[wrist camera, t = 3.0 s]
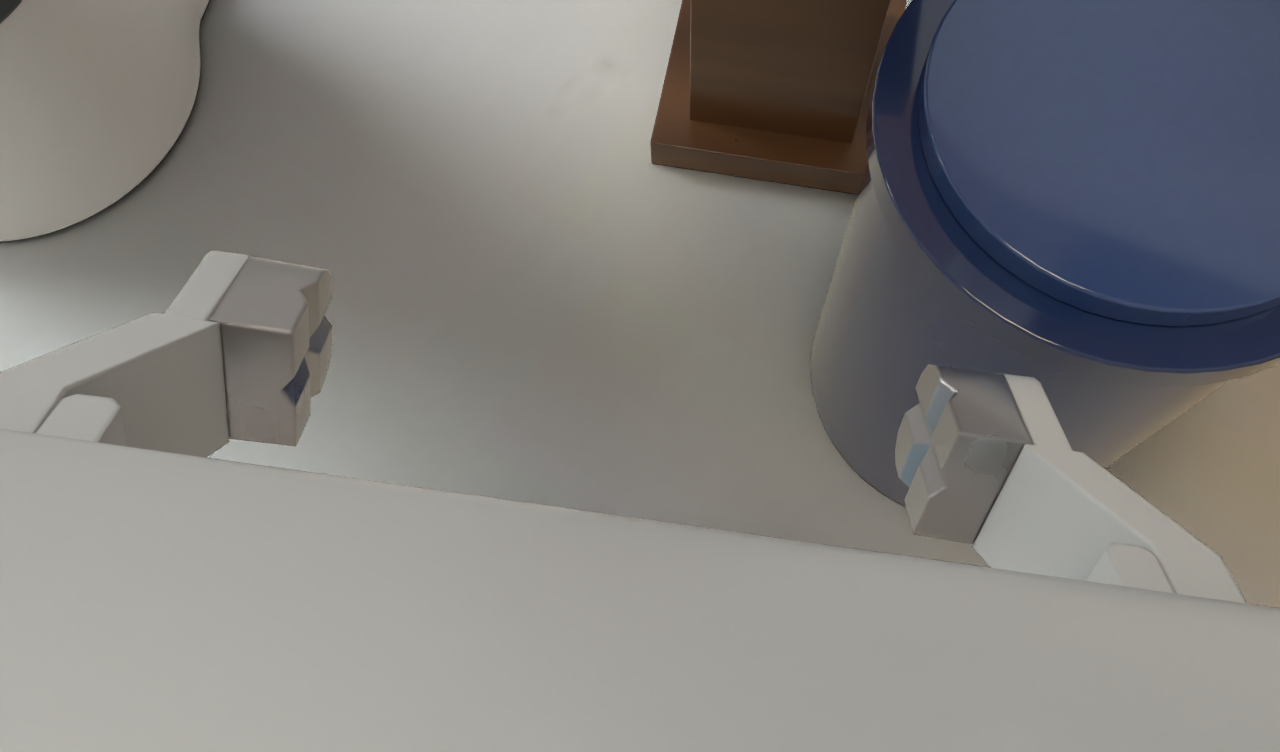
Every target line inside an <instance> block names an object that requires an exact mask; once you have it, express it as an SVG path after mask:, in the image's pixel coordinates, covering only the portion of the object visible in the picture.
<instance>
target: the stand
mask: <svg viewBox="0 0 1280 752" xmlns="http://www.w3.org/2000/svg"><path fill="white" fill-rule="evenodd" d="M905 5H906V0H682V5H681V9H680V14H679V18H678V23H677V27H676V32H675V36H674V40H673V45H672V49H671V54H670V58H669V63H668V67H667V72H666V76H665V80H664V85H663V89H662V94H661V98H660V103H659V107H658V112H657V116H656V120H655V125H654V129H653V134H652V138H651V162H652V163H654V164H661V165H668V166H674V167H681V168H687V169H694V170H701V171H707V172H714V173H720V174H727V175H734V176H740V177H747V178H753V179H760V180H766V181H773V182H780V183H786V184H793V185H799V186H806V187H813V188H819V189H826V190H832V191H839V192H846V193H852V194H858V191H859V188H860V185H861V181H862V178H863V175H864V171H865V168H866V165H867V162H868V157H867V151H866V121H867V114H868V107H869V101H870V94H871V91H872V87H873V84H874V80H875V76H876V73H877V70H878V66H879V63H880V60H881V57H882V54H883V51H884V48H885V45H886V43H887V41H888V39H889V37H890V35H891V33H892V31H893V29H894V27H895V25H896V23H897V21H898V20H899V18H900V17H901V16H902V14H903V13H904V11H905Z"/></svg>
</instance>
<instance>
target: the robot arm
mask: <svg viewBox="0 0 1280 752" xmlns="http://www.w3.org/2000/svg"><path fill="white" fill-rule="evenodd" d="M208 2H209V0H0V242H1V241H12V240H20V239H25V238H31V237H35V236H40V235H44V234H47V233H51V232H54V231H57V230H60V229H63V228H66V227H68V226H71V225H73V224H75V223H78V222H80V221H82V220H84V219H86V218H88V217H90V216H92V215H94V214H96V213H98V212H100V211H101V210H103V209H105V208H107V207H108V206H110V205H111V204H113V203H114V202H116V201H117V200H119V199H120V198H121V197H123V196H124V195H126V194H127V193H128V192H129V191H131V190H132V189H133V188H134V187H136V186H137V185H138V184H139V183H140V182H141V181H142V180H143V179H144V178H146V177H147V176H148V175H149V174H150V173H151V172H152V171H153V169H154V168H155V167H156V166H157V165H158V164H159V163H160V162H161V160H162V159H163V158H164V157H165V156H166V154H167V153H168V152H169V150H170V149H171V148H172V146H173V145H174V143H175V141H176V140H177V138H178V137H179V135H180V133H181V132H182V130H183V128H184V126H185V124H186V122H187V120H188V117H189V115H190V113H191V110H192V107H193V105H194V102H195V98H196V94H197V90H198V85H199V79H200V63H201V60H200V44H199V27H200V20H201V18H202V16H203V14H204V11H205V9H206V7H207V5H208ZM331 299H332V283H331V275H330V272H329V270H328V269H323V268H317V267H312V266H306V265H300V264H295V263H289V262H283V261H278V260H272V259H266V258H260V257H255V256H254V257H251V256H250V255H244V254H237V253H230V252H224V251H217V250H214V251H211V252H209V253H207V254H206V256H205V257H204V258H203V260H202V261H201V263H200V264H199V265H198V267H197V268H196V270H195V271H194V273H193V274H192V275H191V277H190V278H189V280H188V281H187V282H186V284H185V285H184V287H183V288H182V290H181V291H180V292H179V294H178V295H177V297H176V298H175V299H174V301H173V302H172V304H171V305H170V307H169V308H168V309H167V311H166V312H165V314H160V313H150V314H148V315H145V316H143V317H140V318H138V319H135V320H132V321H130V322H127V323H125V324H122V325H120V326H117V327H114V328H112V329H109V330H107V331H104V332H102V333H99V334H97V335H94V336H91V337H89V338H86V339H84V340H81V341H79V342H76V343H73V344H71V345H68V346H66V347H63V348H61V349H58V350H55V351H53V352H50V353H48V354H45V355H43V356H40V357H38V358H35V359H32V360H30V361H27V362H25V363H22V364H20V365H17V366H14V367H12V368H9V369H7V370H4V371H2V372H0V752H1280V608H1274V607H1267V606H1260V605H1253V604H1248V603H1247V601H1246V600H1245V598H1244V596H1243V594H1242V593H1241V591H1240V589H1239V587H1238V586H1237V584H1236V582H1235V580H1234V578H1233V577H1232V575H1231V573H1230V571H1229V570H1228V568H1227V566H1226V564H1225V563H1224V561H1223V559H1222V557H1221V556H1220V555H1219V554H1217V553H1216V552H1215V551H1213V550H1212V549H1211V548H1209V547H1208V546H1207V545H1205V544H1204V543H1203V542H1201V541H1200V540H1199V539H1197V538H1196V537H1195V536H1193V535H1192V534H1191V533H1189V532H1188V531H1187V530H1185V529H1184V528H1183V527H1181V526H1180V525H1179V524H1177V523H1176V522H1175V521H1173V520H1172V519H1171V518H1169V517H1168V516H1167V515H1165V514H1164V513H1163V512H1161V511H1160V510H1159V509H1157V508H1156V507H1155V506H1153V505H1152V504H1151V503H1149V502H1148V501H1147V500H1145V499H1144V498H1143V497H1141V496H1140V495H1139V494H1137V493H1136V492H1135V491H1133V490H1132V489H1131V488H1130V487H1128V486H1127V485H1126V484H1124V483H1123V482H1122V481H1120V480H1119V479H1118V478H1116V477H1115V476H1114V475H1112V474H1111V473H1110V472H1108V471H1107V470H1106V469H1104V468H1103V467H1102V466H1100V465H1099V464H1098V463H1096V462H1095V461H1094V460H1092V459H1091V458H1090V457H1088V456H1087V455H1086V454H1084V453H1082V452H1076V451H1073V450H1072V448H1071V446H1070V444H1069V442H1068V440H1067V438H1066V436H1065V433H1064V431H1063V429H1062V427H1061V425H1060V423H1059V421H1058V419H1057V417H1056V415H1055V412H1054V410H1053V408H1052V406H1051V404H1050V402H1049V400H1048V398H1047V396H1046V393H1045V391H1044V389H1043V387H1042V385H1041V383H1040V382H1039V381H1038V380H1037V379H1035V378H1034V377H1026V376H1018V375H1010V374H1001V373H999V374H998V373H990V372H983V371H975V370H968V369H960V368H953V367H945V366H938V365H931V364H928V365H927V367H926V368H925V369H924V371H923V372H922V373H921V376H920V378H919V380H918V383H917V385H916V387H915V388H916V391H917V395H918V398H919V402H920V403H919V404H917V405H916V406H914V407H913V408H911V409H910V410H908V411H907V412H905V414H904V417H903V420H902V422H901V425H900V428H899V430H898V434H897V441H896V447H895V464H896V469H897V473H898V477H899V478H900V479H901V480H902V481H903V482H904V483H905V484H906V485H907V486H908V487H909V490H908V493H907V495H906V497H905V500H904V501H905V505H906V508H907V512H908V516H909V520H910V524H911V527H912V531H913V534H915V535H921V536H927V537H933V538H939V539H944V540H950V541H956V542H962V543H968V544H973V546H972V547H973V548H974V549H975V550H976V552H977V553H978V554H979V555H980V556H981V557H982V558H983V560H984V561H985V562H986V563H987V564H988V565H989V566H990V567H983V566H976V565H969V564H962V563H955V562H947V561H940V560H933V559H926V558H919V557H912V556H905V555H897V554H890V553H883V552H876V551H869V550H862V549H855V548H847V547H840V546H833V545H826V544H819V543H812V542H805V541H797V540H790V539H783V538H776V537H769V536H762V535H755V534H747V533H740V532H733V531H726V530H719V529H712V528H705V527H697V526H690V525H683V524H676V523H669V522H662V521H655V520H647V519H640V518H633V517H626V516H619V515H612V514H605V513H598V512H590V511H583V510H576V509H569V508H562V507H555V506H548V505H541V504H533V503H526V502H519V501H512V500H505V499H498V498H491V497H483V496H476V495H469V494H462V493H455V492H448V491H441V490H434V489H426V488H419V487H412V486H405V485H398V484H391V483H384V482H376V481H369V480H362V479H355V478H348V477H341V476H334V475H327V474H319V473H312V472H305V471H298V470H291V469H284V468H277V467H269V466H262V465H255V464H248V463H241V462H234V461H227V460H220V459H212V458H206V457H208V456H209V455H211V454H212V453H214V452H215V451H217V450H218V449H220V448H221V447H222V446H224V445H225V444H227V443H228V442H229V439H236V440H245V441H253V442H262V443H270V444H279V445H288V446H296V445H297V443H298V441H299V439H300V436H301V434H302V432H303V430H304V427H305V425H306V423H307V421H308V419H309V416H310V398H311V397H313V396H315V395H317V394H318V393H320V391H321V389H322V386H323V384H324V381H325V379H326V375H327V370H328V366H329V362H330V357H331V346H332V325H331V324H330V322H329V321H328V320H327V318H326V317H325V316H324V314H325V312H326V310H327V308H328V305H329V303H330V301H331Z"/></svg>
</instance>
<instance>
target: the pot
mask: <svg viewBox="0 0 1280 752" xmlns="http://www.w3.org/2000/svg"><path fill="white" fill-rule="evenodd" d="M866 151H867V157H868V162H867V165H866V168H865V171H864V175H863V178H862V181H861V185H860V188H859V191H858V194H857V198H856V201H855V204H854V208H853V211H852V214H851V217H850V221H849V224H848V227H847V231H846V234H845V237H844V240H843V244H842V247H841V250H840V254H839V257H838V260H837V263H836V267H835V270H834V273H833V276H832V280H831V283H830V286H829V290H828V293H827V296H826V299H825V303H824V306H823V309H822V313H821V316H820V319H819V322H818V326H817V329H816V332H815V336H814V339H813V346H812V352H811V382H812V390H813V396H814V399H815V403H816V407H817V411H818V413H819V416H820V418H821V421H822V423H823V425H824V428H825V430H826V432H827V434H828V435H829V437H830V439H831V440H832V442H833V444H834V446H835V447H836V449H837V450H838V451H839V453H840V454H841V455H842V456H843V458H844V459H845V460H846V462H847V463H848V464H849V465H850V466H851V467H852V468H853V469H854V470H855V471H856V472H857V473H858V474H859V475H860V476H861V477H862V478H863V479H864V480H865V481H867V482H868V483H869V484H870V485H872V486H873V487H874V488H875V489H877V490H878V491H879V492H881V493H882V494H884V495H886V496H887V497H889V498H891V499H892V500H894V501H896V502H897V503H899V504H901V505H904V506H906V505H905V501H904V500H905V497H906V495H907V493H908V490H909V487H908V486H907V485H906V484H905V483H904V482H903V481H902V480H901V479H900V478H899V477H898V473H897V469H896V464H895V447H896V441H897V434H898V430H899V428H900V425H901V422H902V420H903V417H904V414H905V412H907V411H908V410H910V409H911V408H913V407H914V406H916V405H917V404H919V403H920V402H919V398H918V395H917V391H916V388H915V387H916V385H917V383H918V380H919V378H920V376H921V373H922V372H923V371H924V369H925V368H926V367H927V365H928V364H931V365H938V366H945V367H953V368H960V369H968V370H975V371H983V372H990V373H998V374H999V373H1001V374H1010V375H1018V376H1026V377H1034V378H1035V379H1037V380H1038V381H1039V382H1040V383H1041V385H1042V387H1043V389H1044V391H1045V393H1046V396H1047V398H1048V400H1049V402H1050V404H1051V406H1052V408H1053V410H1054V412H1055V415H1056V417H1057V419H1058V421H1059V423H1060V425H1061V427H1062V429H1063V431H1064V433H1065V436H1066V438H1067V440H1068V442H1069V444H1070V446H1071V448H1072V450H1073V451H1076V452H1082V453H1084V454H1086V455H1087V456H1088V457H1090V458H1091V459H1092V460H1094V461H1095V462H1096V463H1098V464H1099V465H1100V466H1102V467H1103V468H1104V469H1105V468H1106V467H1108V466H1109V465H1111V464H1112V463H1113V462H1115V461H1116V460H1118V459H1119V458H1121V457H1122V456H1123V455H1125V454H1126V453H1128V452H1129V451H1130V450H1132V449H1133V448H1135V447H1136V446H1137V445H1139V444H1140V443H1142V442H1143V441H1144V440H1146V439H1147V438H1149V437H1150V436H1152V435H1153V434H1154V433H1156V432H1157V431H1159V430H1160V429H1161V428H1163V427H1164V426H1166V425H1167V424H1168V423H1170V422H1171V421H1173V420H1174V419H1175V418H1177V417H1178V416H1180V415H1181V414H1183V413H1184V412H1185V411H1187V410H1188V409H1190V408H1191V407H1192V406H1194V405H1195V404H1197V403H1198V402H1199V401H1201V400H1202V399H1204V398H1205V397H1207V396H1208V395H1209V394H1211V393H1212V392H1214V391H1215V390H1216V389H1218V388H1219V387H1221V386H1222V385H1223V384H1225V383H1226V382H1228V381H1229V380H1233V379H1238V378H1242V377H1245V376H1248V375H1251V374H1254V373H1257V372H1260V371H1263V370H1266V369H1268V368H1271V367H1274V366H1276V365H1278V364H1280V0H912V2H911V3H910V4H909V6H908V7H907V9H906V10H905V11H904V13H903V14H902V16H901V17H900V18H899V20H898V21H897V23H896V25H895V27H894V29H893V31H892V33H891V35H890V37H889V39H888V41H887V43H886V45H885V48H884V51H883V54H882V57H881V60H880V63H879V66H878V70H877V73H876V76H875V80H874V84H873V87H872V91H871V94H870V101H869V107H868V114H867V121H866Z"/></svg>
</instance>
